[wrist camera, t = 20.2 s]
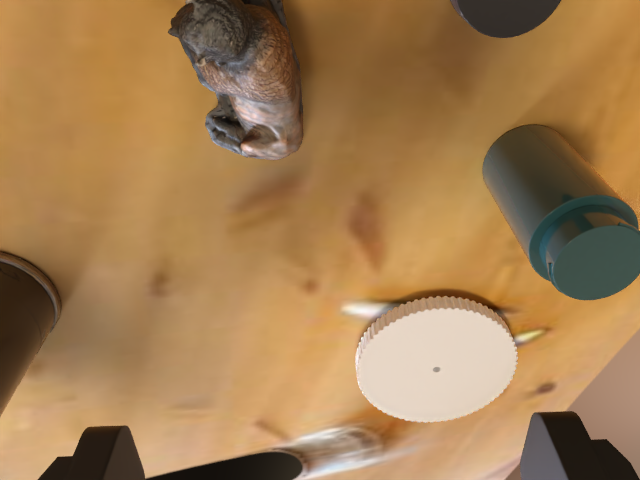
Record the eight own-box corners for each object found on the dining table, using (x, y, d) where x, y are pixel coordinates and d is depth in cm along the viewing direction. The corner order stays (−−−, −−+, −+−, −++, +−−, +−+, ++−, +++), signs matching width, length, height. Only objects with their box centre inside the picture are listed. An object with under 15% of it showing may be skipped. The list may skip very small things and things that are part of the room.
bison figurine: (322, 135, 40) (326, 204, 31) (228, 157, 40) (206, 230, 32) (275, -50, 33) (264, -25, 25) (164, -19, 34) (116, 15, 26)
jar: (541, 210, 43) (616, 318, 33) (468, 189, 42) (521, 294, 31) (584, 138, 40) (683, 232, 29) (506, 113, 39) (580, 202, 28)
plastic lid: (482, 265, 46) (490, 284, 44) (526, 372, 53) (535, 393, 51) (328, 323, 49) (329, 343, 47) (389, 417, 56) (392, 439, 54)
